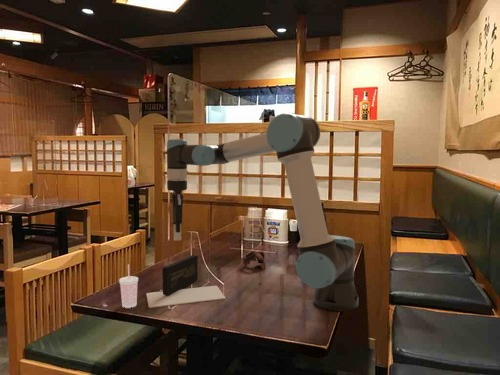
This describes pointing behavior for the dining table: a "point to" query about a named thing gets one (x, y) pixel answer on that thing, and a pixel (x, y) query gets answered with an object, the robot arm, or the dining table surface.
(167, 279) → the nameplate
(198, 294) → the beige mat
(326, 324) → the dining table surface
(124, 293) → the beverage cup
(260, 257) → the pottery mug
